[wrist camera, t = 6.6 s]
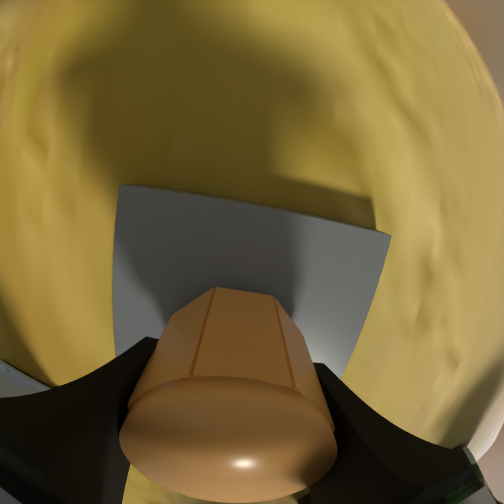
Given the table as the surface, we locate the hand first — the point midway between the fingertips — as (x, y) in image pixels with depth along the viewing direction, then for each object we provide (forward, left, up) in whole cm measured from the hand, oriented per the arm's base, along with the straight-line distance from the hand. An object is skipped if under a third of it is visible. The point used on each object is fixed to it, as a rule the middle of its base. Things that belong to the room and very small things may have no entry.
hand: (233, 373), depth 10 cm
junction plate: (0, 0, -4) cm, 4 cm away
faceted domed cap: (0, 0, -2) cm, 2 cm away
